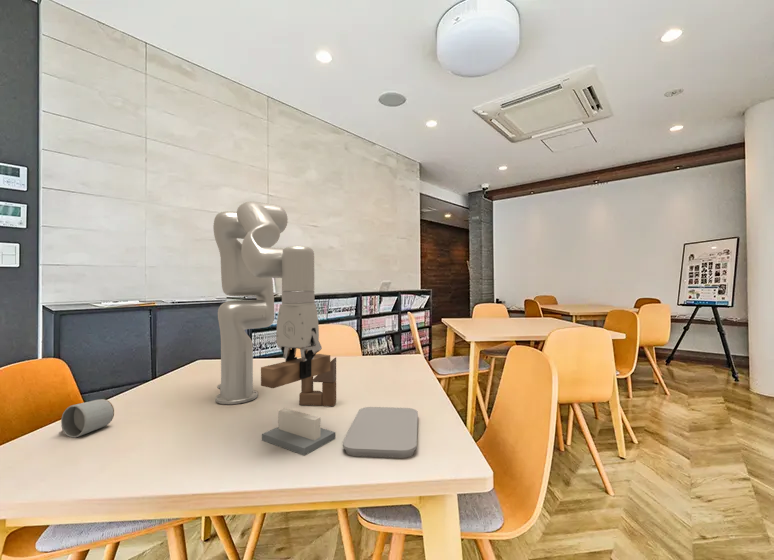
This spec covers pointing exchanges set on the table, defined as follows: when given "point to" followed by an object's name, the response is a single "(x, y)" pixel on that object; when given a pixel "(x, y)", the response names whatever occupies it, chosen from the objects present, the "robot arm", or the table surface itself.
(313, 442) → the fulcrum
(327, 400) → the brown wooden block stack
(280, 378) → the walnut bar
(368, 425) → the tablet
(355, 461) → the table surface
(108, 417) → the grey hollow cylinder
